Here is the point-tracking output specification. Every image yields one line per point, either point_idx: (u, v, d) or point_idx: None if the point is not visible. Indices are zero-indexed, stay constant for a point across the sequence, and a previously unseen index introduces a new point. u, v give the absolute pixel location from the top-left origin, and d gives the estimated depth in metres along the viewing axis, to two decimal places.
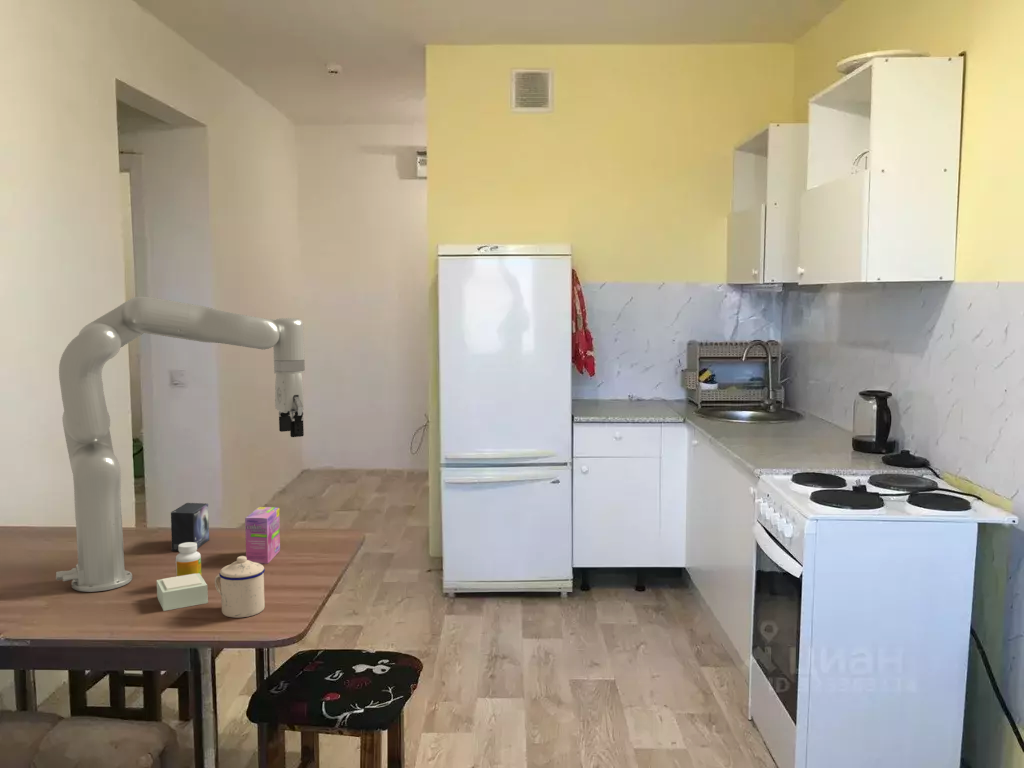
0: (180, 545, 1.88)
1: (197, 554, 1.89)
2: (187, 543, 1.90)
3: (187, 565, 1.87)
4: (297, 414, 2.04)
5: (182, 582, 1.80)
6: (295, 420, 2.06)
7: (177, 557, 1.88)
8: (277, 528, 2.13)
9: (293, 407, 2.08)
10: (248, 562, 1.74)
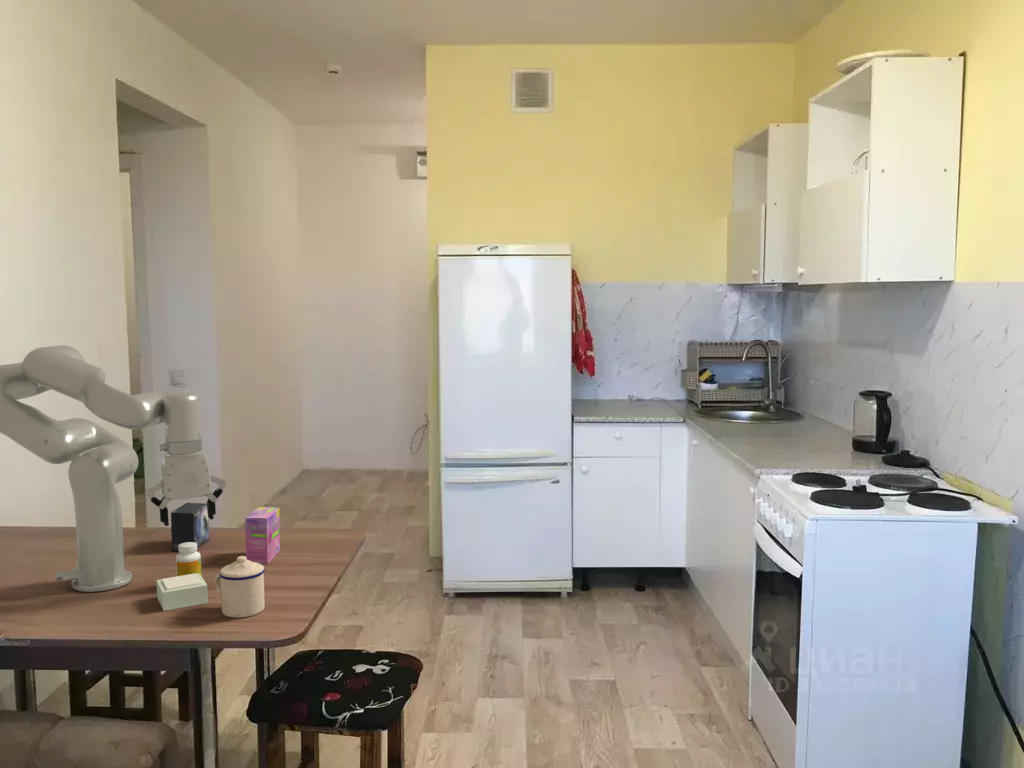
0: (179, 545, 1.88)
1: (197, 554, 1.89)
2: (187, 543, 1.90)
3: (187, 565, 1.87)
4: (222, 491, 1.92)
5: (182, 582, 1.80)
6: None
7: (177, 557, 1.88)
8: (277, 528, 2.13)
9: None
10: (248, 562, 1.74)
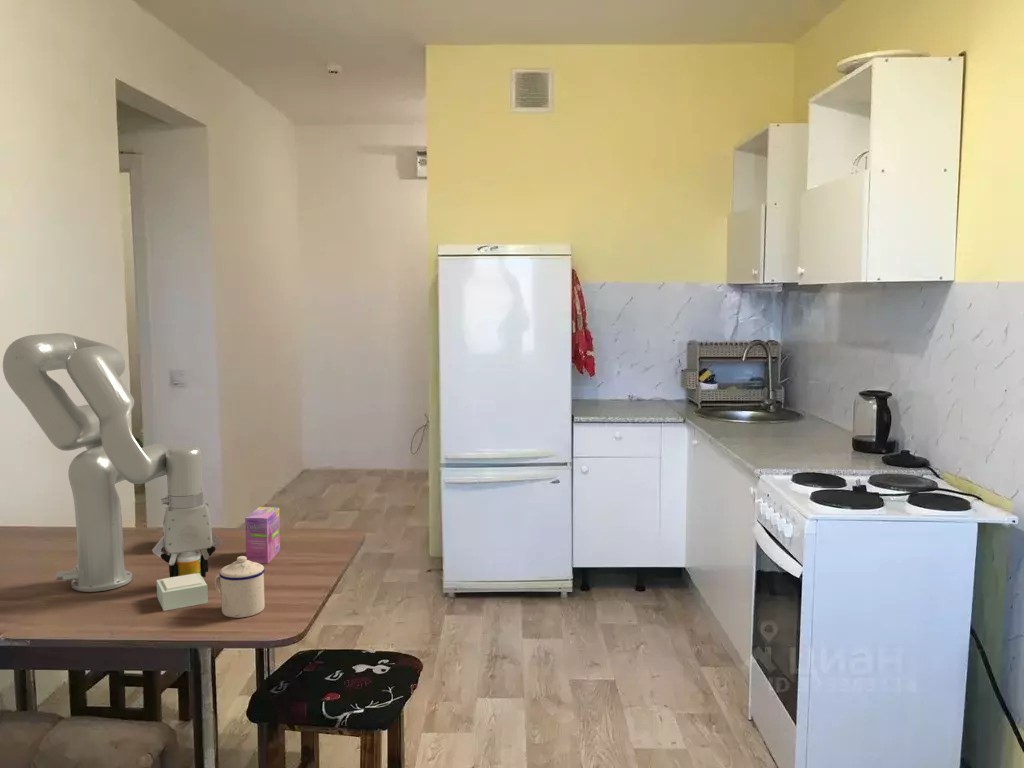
0: None
1: (197, 554, 1.89)
2: None
3: (187, 565, 1.87)
4: None
5: (182, 582, 1.80)
6: (208, 557, 1.91)
7: (177, 557, 1.88)
8: (277, 528, 2.13)
9: None
10: (248, 562, 1.74)
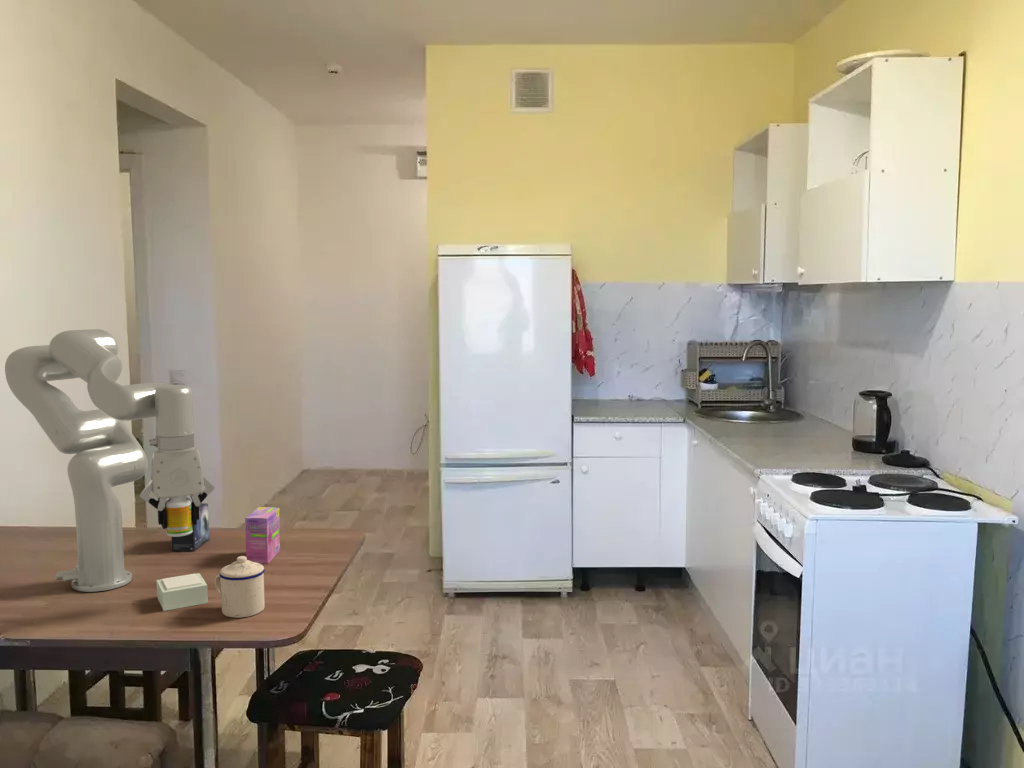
0: None
1: (187, 500, 1.79)
2: None
3: (177, 511, 1.77)
4: None
5: (182, 582, 1.80)
6: (200, 503, 1.81)
7: (166, 503, 1.77)
8: (277, 528, 2.13)
9: None
10: (248, 562, 1.74)
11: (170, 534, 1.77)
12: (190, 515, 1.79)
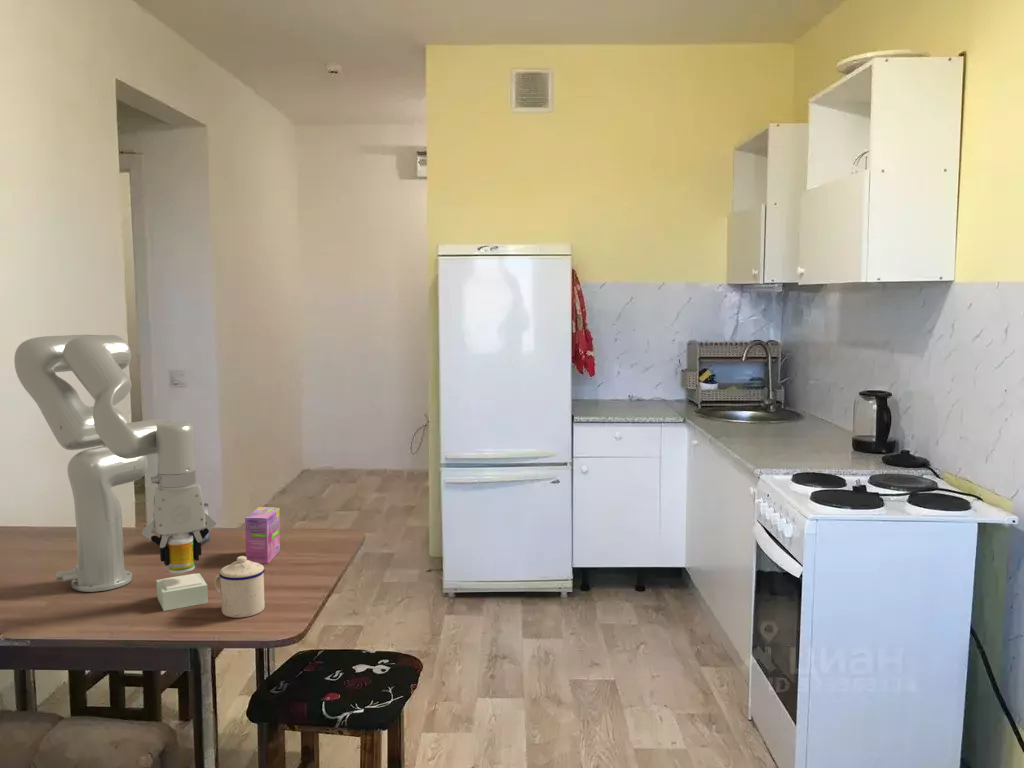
0: None
1: (189, 536, 1.79)
2: None
3: (179, 548, 1.77)
4: None
5: (182, 582, 1.80)
6: (202, 539, 1.81)
7: (168, 539, 1.78)
8: (277, 528, 2.13)
9: None
10: (248, 562, 1.74)
11: (172, 571, 1.78)
12: (192, 551, 1.80)
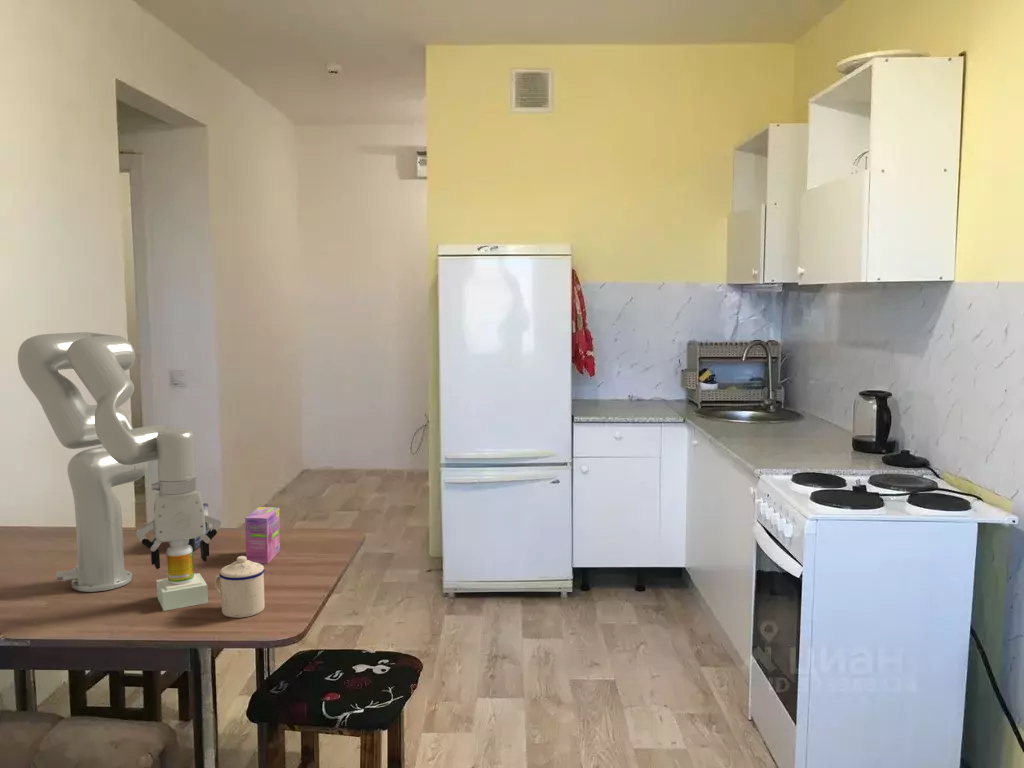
0: None
1: (188, 547, 1.80)
2: None
3: (178, 559, 1.78)
4: (216, 532, 1.83)
5: None
6: (210, 540, 1.82)
7: (168, 551, 1.78)
8: (277, 528, 2.13)
9: None
10: (248, 562, 1.74)
11: (171, 582, 1.78)
12: (191, 562, 1.80)
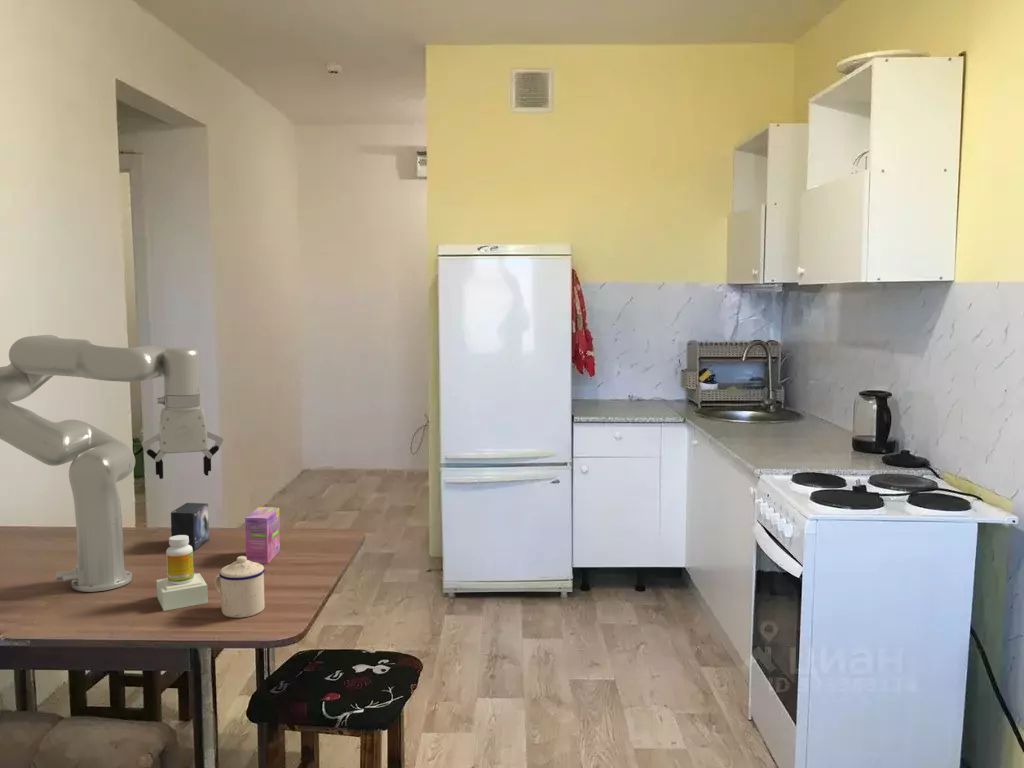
0: (170, 538, 1.79)
1: (188, 547, 1.80)
2: (178, 536, 1.81)
3: (178, 559, 1.78)
4: (218, 448, 1.92)
5: None
6: None
7: (168, 550, 1.78)
8: (277, 528, 2.13)
9: None
10: (248, 562, 1.74)
11: (171, 582, 1.78)
12: (191, 562, 1.80)
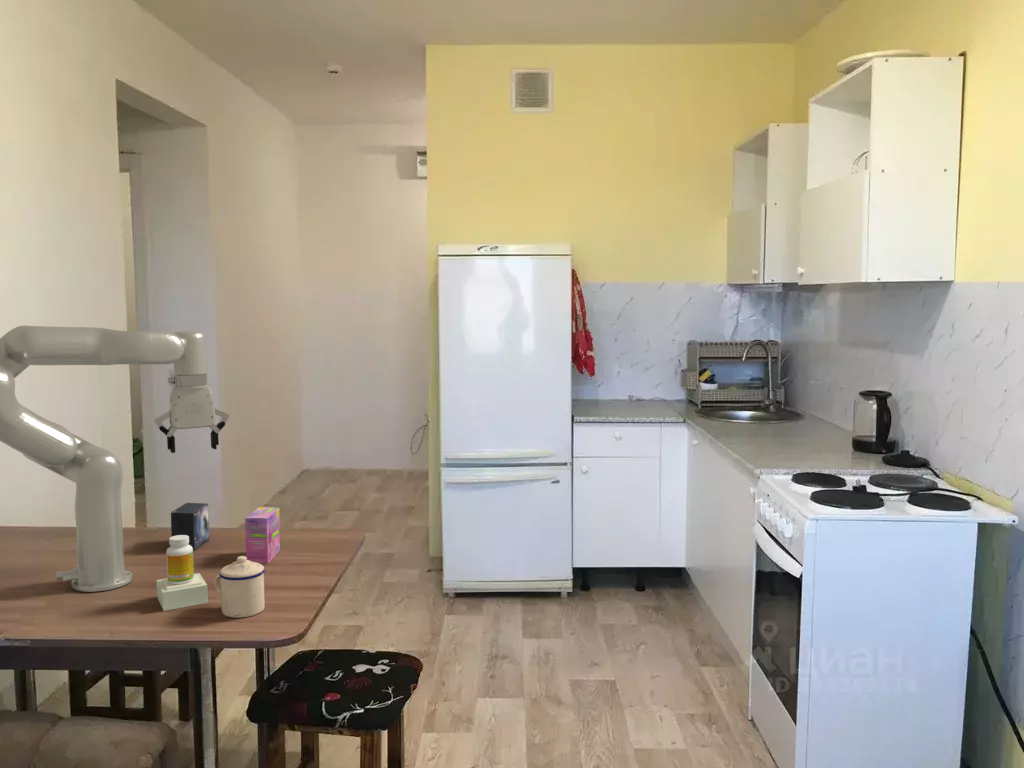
0: (170, 538, 1.79)
1: (188, 547, 1.80)
2: (178, 536, 1.81)
3: (178, 559, 1.78)
4: (224, 424, 2.07)
5: None
6: None
7: (168, 550, 1.78)
8: (277, 528, 2.13)
9: None
10: (248, 562, 1.74)
11: (171, 582, 1.78)
12: (191, 562, 1.80)
